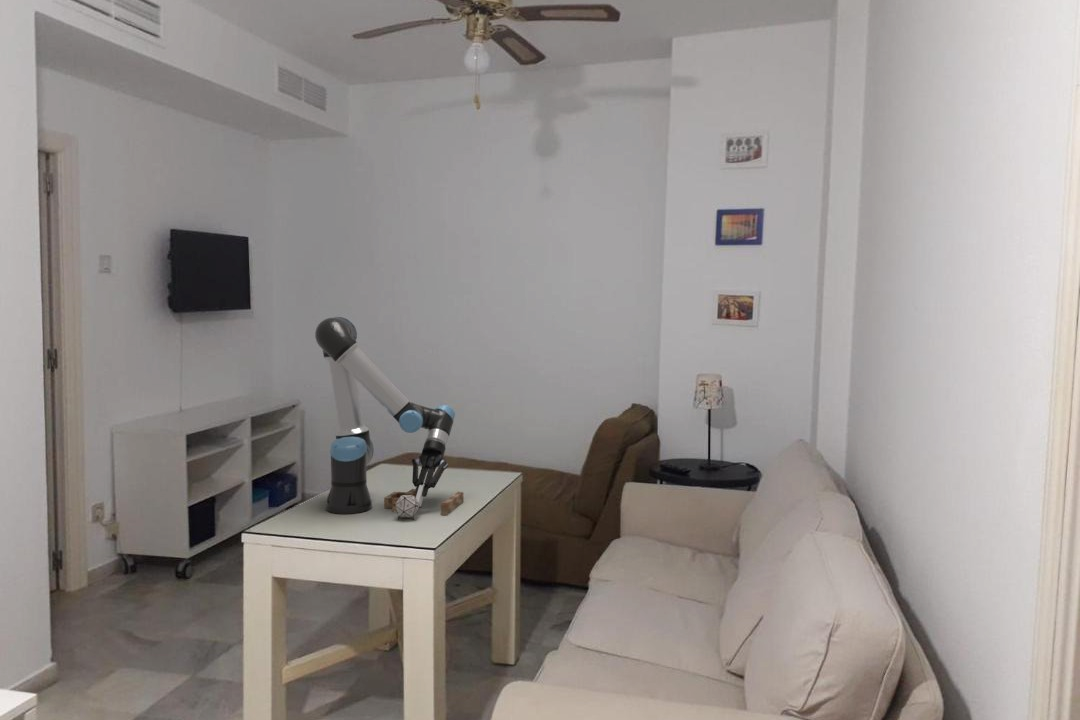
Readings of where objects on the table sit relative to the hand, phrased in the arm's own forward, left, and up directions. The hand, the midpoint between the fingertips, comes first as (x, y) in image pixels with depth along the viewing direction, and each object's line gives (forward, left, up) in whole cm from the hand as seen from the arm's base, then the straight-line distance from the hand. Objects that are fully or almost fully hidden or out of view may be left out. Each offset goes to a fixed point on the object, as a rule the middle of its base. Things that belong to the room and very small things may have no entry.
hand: (417, 504), depth 256 cm
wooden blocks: (-4, +10, -4) cm, 11 cm away
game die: (-1, -5, -4) cm, 6 cm away
